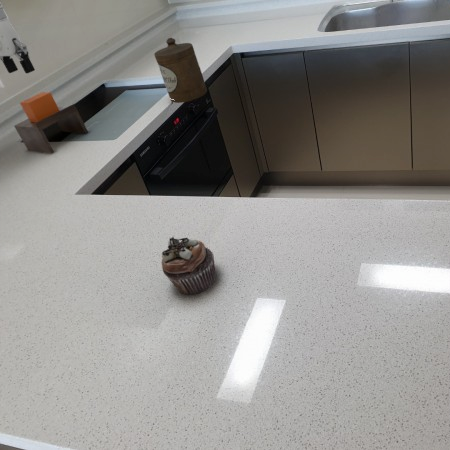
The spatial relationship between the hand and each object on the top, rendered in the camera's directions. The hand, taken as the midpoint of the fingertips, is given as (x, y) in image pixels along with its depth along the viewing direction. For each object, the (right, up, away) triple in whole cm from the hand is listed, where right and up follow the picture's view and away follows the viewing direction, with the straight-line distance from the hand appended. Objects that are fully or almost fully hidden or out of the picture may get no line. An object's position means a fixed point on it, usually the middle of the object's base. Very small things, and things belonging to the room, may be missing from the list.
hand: (21, 71), depth 152 cm
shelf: (+4, -20, +15) cm, 26 cm away
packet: (+2, -13, +10) cm, 16 cm away
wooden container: (+48, +1, +31) cm, 57 cm away
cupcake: (+72, -61, -62) cm, 113 cm away
